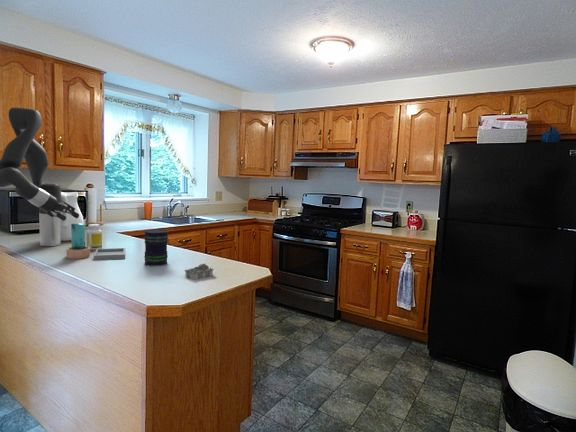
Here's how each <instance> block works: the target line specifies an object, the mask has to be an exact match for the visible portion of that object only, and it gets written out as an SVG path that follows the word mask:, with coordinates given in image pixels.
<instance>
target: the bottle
mask: <svg viewBox="0 0 576 432" xmlns="http://www.w3.org/2000/svg"><path fill="white" fill-rule="evenodd" d="M70 241H71V244H70V245H71V247H72V250H82V249H85V246H86V223H85V222H84V223H74V224H71V240H70Z"/></svg>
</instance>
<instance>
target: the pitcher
mask: <svg viewBox="0 0 576 432" xmlns="http://www.w3.org/2000/svg"><path fill="white" fill-rule="evenodd" d="M78 198H79V193H78V192H77V191H74V192H73V191H72V192H63V191H61V204H63V203H64V202H66V203H67V204H69V205H71V206H72V207H74V208H75V212H76V213H78V214H79V217H78V218H75V217H73V216H72V215H70V214H67V213H66V214H64V213H61V214H62V215H64V216H66V220H65V221H63V220H61V219H60V232H61V241H63V242H64V241H71V224H74V223H84V224H85V222H84V216H83V214H82V212H81V209H80V207H79V204H78ZM70 209H71V208H70ZM64 211H65V209H64ZM67 212H69V211H67Z"/></svg>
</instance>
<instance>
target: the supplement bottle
mask: <svg viewBox="0 0 576 432" xmlns="http://www.w3.org/2000/svg"><path fill="white" fill-rule="evenodd" d="M87 227H88V230H86V232H85V238H86V247H90V251H96V249H103V231H102V230H101V229H100V228H101V225H100V224H98V223H95V224H93V223H91V224H88V226H87Z"/></svg>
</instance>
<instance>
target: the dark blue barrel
mask: <svg viewBox="0 0 576 432" xmlns="http://www.w3.org/2000/svg"><path fill="white" fill-rule="evenodd" d="M168 235H169V234H168V230H166V229H147V230H144V245H145V247H144V248H145V249H144V250H145V251H144V256H143V257H144V265H145V266H148V265H149V267H161V266H165V265H168V241H169V240H168V239H169V237H168Z"/></svg>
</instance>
